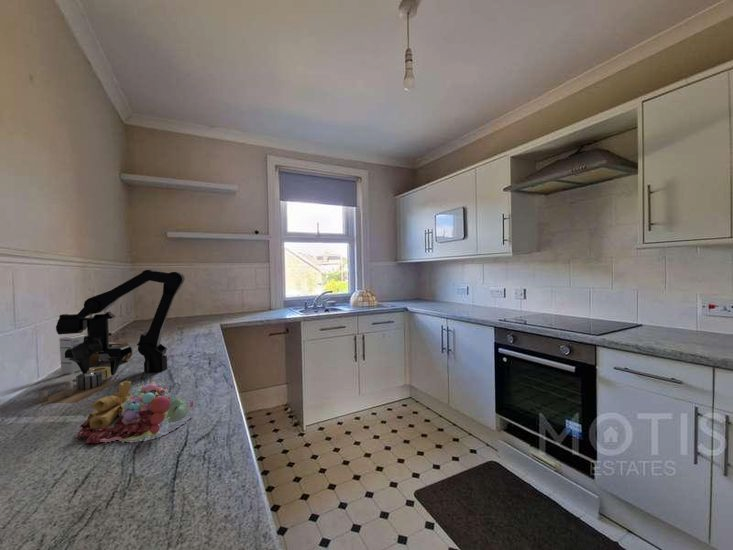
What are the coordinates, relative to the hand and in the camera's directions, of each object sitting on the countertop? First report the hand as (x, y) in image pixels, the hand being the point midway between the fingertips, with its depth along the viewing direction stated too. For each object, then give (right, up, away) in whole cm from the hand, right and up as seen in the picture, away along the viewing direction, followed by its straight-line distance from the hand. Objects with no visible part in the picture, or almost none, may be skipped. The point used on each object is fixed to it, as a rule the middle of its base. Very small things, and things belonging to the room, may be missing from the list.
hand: (99, 375), depth 110 cm
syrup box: (-15, -2, +7) cm, 17 cm away
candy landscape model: (+36, -3, -28) cm, 46 cm away
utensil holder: (-19, -2, +17) cm, 26 cm away
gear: (+4, -1, -9) cm, 10 cm away
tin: (-13, -2, +23) cm, 26 cm away
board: (+5, -2, -13) cm, 14 cm away
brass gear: (0, -2, 0) cm, 2 cm away
